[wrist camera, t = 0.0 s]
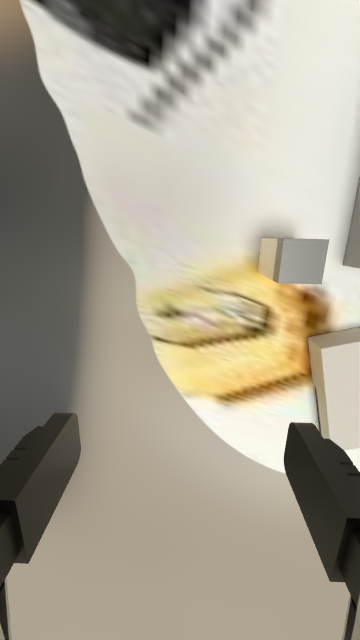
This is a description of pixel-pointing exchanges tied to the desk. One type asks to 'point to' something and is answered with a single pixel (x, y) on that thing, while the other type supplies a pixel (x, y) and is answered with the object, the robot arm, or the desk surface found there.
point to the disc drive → (337, 385)
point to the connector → (293, 260)
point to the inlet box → (354, 236)
